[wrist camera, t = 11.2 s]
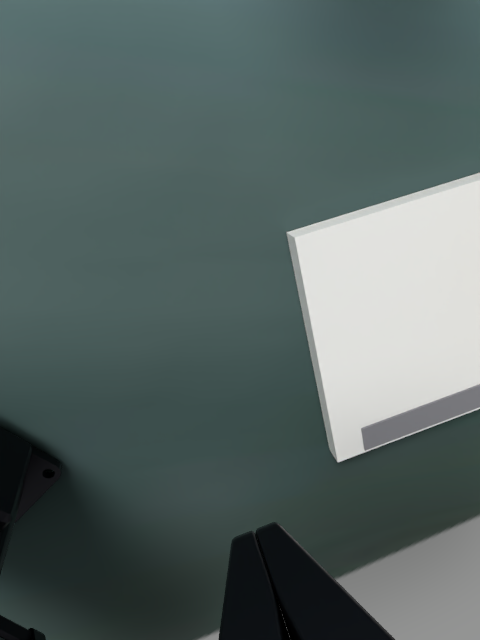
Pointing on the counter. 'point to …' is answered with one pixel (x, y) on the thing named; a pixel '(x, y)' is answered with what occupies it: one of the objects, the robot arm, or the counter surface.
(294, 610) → the robot arm
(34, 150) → the counter surface
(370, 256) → the plate
